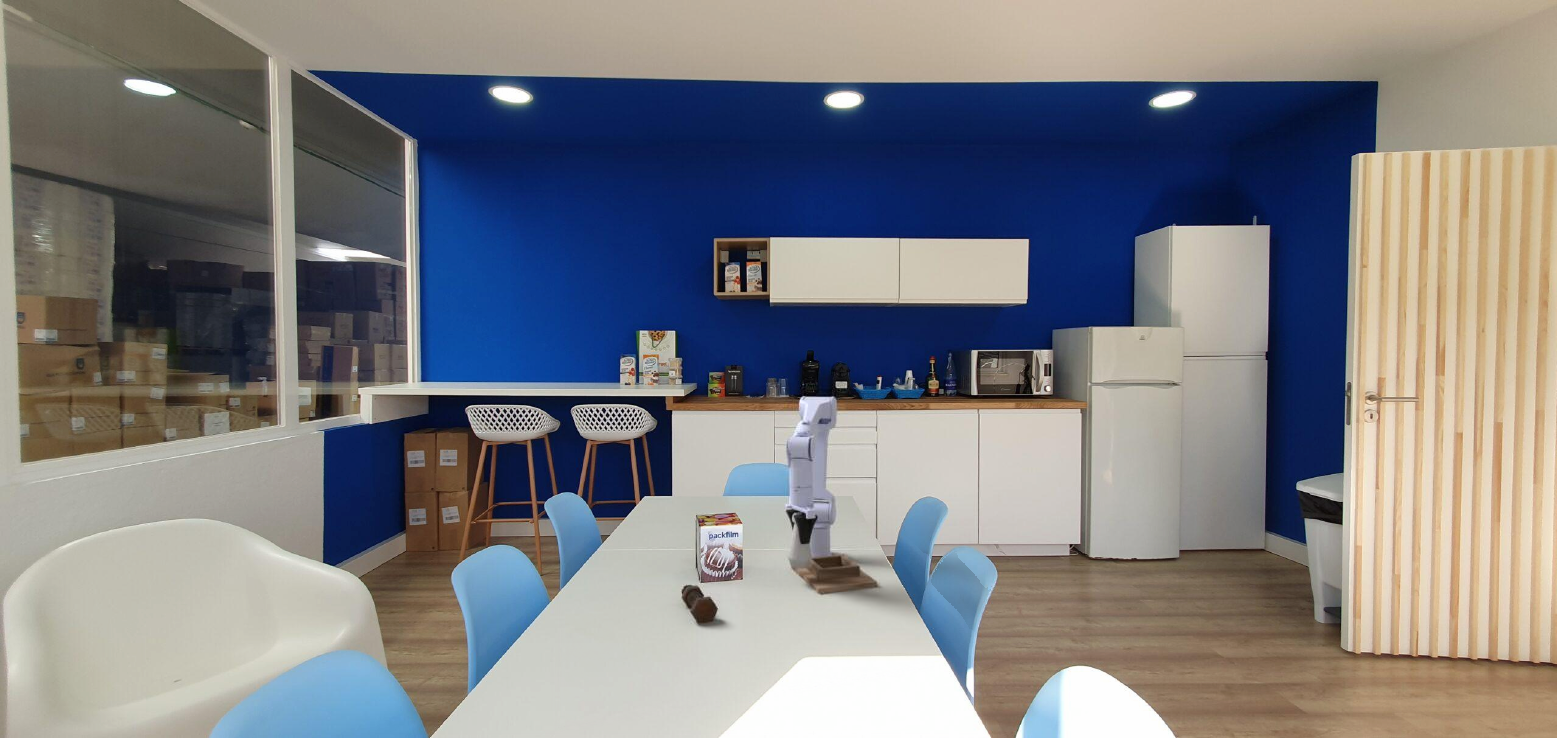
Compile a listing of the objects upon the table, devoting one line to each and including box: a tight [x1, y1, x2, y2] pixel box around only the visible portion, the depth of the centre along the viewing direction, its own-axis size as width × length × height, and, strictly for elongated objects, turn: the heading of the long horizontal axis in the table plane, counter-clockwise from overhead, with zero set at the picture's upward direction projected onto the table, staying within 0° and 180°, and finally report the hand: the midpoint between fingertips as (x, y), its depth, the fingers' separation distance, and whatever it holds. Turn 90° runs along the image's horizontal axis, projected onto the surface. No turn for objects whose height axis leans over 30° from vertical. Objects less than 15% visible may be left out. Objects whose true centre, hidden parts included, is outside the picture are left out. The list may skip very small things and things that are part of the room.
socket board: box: [790, 554, 878, 595], centre depth 172 cm, size 20×15×4 cm
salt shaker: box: [787, 512, 812, 569], centre depth 167 cm, size 6×6×13 cm
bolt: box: [681, 584, 719, 624], centre depth 151 cm, size 6×5×15 cm
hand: (801, 541), depth 167 cm, fingers closed on salt shaker, 4 cm apart
